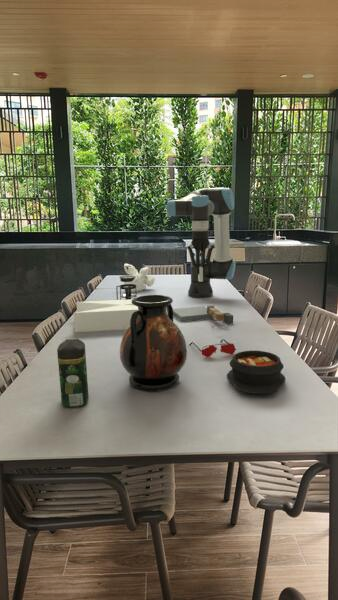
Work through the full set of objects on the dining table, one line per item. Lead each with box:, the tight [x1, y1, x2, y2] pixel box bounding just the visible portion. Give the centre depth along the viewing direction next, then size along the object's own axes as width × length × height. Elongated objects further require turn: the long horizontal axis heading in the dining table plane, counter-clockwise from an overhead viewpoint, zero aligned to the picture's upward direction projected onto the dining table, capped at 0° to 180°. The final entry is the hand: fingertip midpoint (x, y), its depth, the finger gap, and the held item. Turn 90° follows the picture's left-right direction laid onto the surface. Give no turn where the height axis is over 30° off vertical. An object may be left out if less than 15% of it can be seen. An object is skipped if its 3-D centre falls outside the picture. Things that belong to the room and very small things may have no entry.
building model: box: [72, 298, 168, 333], centre depth 213 cm, size 45×22×10 cm, turn 98°
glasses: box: [188, 338, 237, 358], centre depth 174 cm, size 14×16×5 cm
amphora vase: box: [119, 294, 188, 392], centre depth 141 cm, size 22×22×28 cm
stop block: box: [222, 312, 234, 325], centre depth 211 cm, size 3×6×4 cm, turn 17°
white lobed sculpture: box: [123, 263, 156, 293], centre depth 290 cm, size 19×20×20 cm
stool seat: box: [173, 305, 214, 322], centre depth 223 cm, size 18×16×2 cm
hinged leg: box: [206, 305, 224, 322], centre depth 212 cm, size 18×4×3 cm, turn 12°
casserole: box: [226, 350, 287, 395], centre depth 142 cm, size 25×19×8 cm
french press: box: [115, 265, 138, 300], centre depth 242 cm, size 12×9×23 cm
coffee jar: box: [56, 338, 89, 409], centre depth 129 cm, size 10×8×19 cm
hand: (200, 281), depth 207 cm, fingers closed
